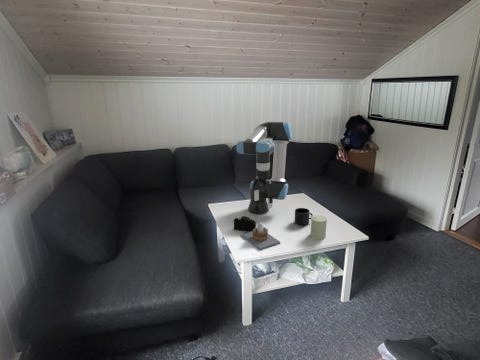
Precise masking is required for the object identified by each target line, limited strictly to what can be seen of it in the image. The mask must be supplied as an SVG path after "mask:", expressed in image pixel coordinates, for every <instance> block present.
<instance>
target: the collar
mask: <svg viewBox="0 0 480 360" xmlns="http://www.w3.org/2000/svg"><path fill="white" fill-rule="evenodd" d="M268 234H269V230H268V228H266V226H265V227H264V226H263V232H257V226H256V228H254V229H253V239H254V240H256V241H265V240H267V238H268Z"/></svg>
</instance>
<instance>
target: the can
mask: <svg viewBox="0 0 480 360" xmlns="http://www.w3.org/2000/svg"><path fill="white" fill-rule="evenodd" d="M310 218H311V219H310V234H309V236H310V237H311V238H312V239H315V240H324V239H325V238H327V236H326V235H327V223H328V222H327V221H328V218H327V217H325V216H323V215H318V214H317V215H316V214H315V215H313V216H312V217H310Z"/></svg>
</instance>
